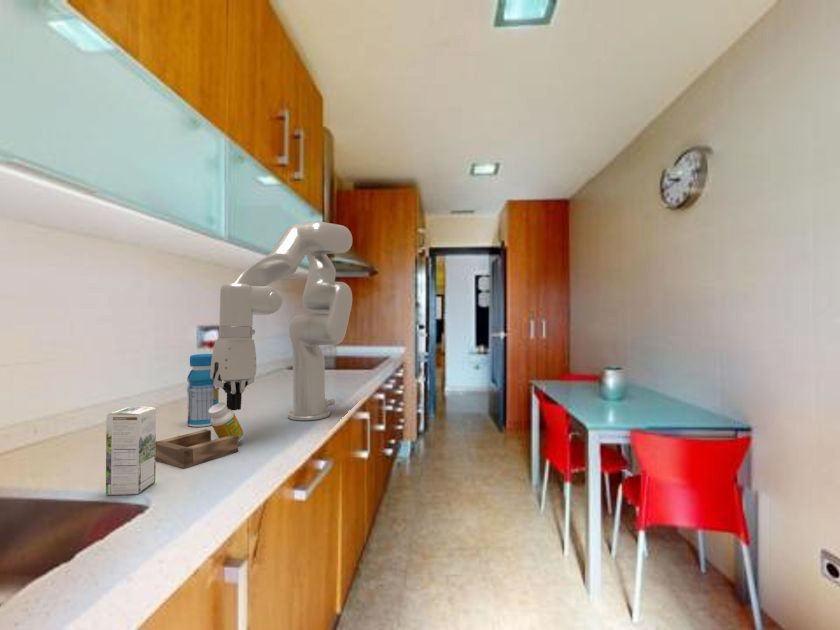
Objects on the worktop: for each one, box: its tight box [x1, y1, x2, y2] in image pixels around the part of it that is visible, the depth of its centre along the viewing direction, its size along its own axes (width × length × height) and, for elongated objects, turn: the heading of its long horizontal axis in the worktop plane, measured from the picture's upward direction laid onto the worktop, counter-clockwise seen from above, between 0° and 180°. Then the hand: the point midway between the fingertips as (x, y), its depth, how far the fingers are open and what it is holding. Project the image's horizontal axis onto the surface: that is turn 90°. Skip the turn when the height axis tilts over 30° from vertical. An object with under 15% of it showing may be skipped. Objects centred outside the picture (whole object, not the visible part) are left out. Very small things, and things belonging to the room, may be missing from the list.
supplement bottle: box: [209, 401, 245, 443], centre depth 107 cm, size 5×5×10 cm
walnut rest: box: [156, 429, 239, 470], centre depth 100 cm, size 13×12×4 cm
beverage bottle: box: [186, 353, 220, 428], centre depth 129 cm, size 8×8×20 cm
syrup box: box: [105, 406, 157, 496], centre depth 81 cm, size 6×6×14 cm
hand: (233, 409), depth 109 cm, fingers closed
